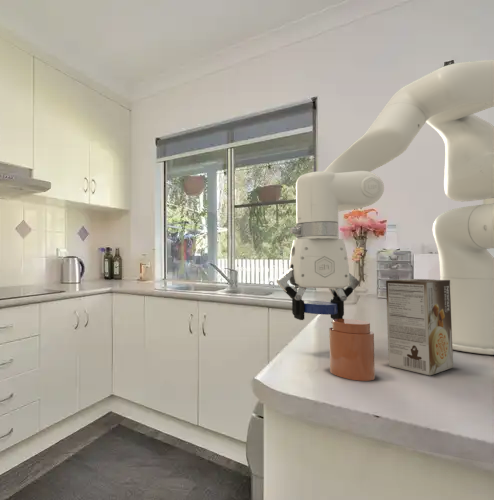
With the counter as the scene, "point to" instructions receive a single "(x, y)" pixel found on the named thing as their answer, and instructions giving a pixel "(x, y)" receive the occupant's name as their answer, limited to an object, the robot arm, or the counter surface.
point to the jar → (352, 349)
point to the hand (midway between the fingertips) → (317, 318)
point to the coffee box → (419, 325)
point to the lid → (320, 307)
